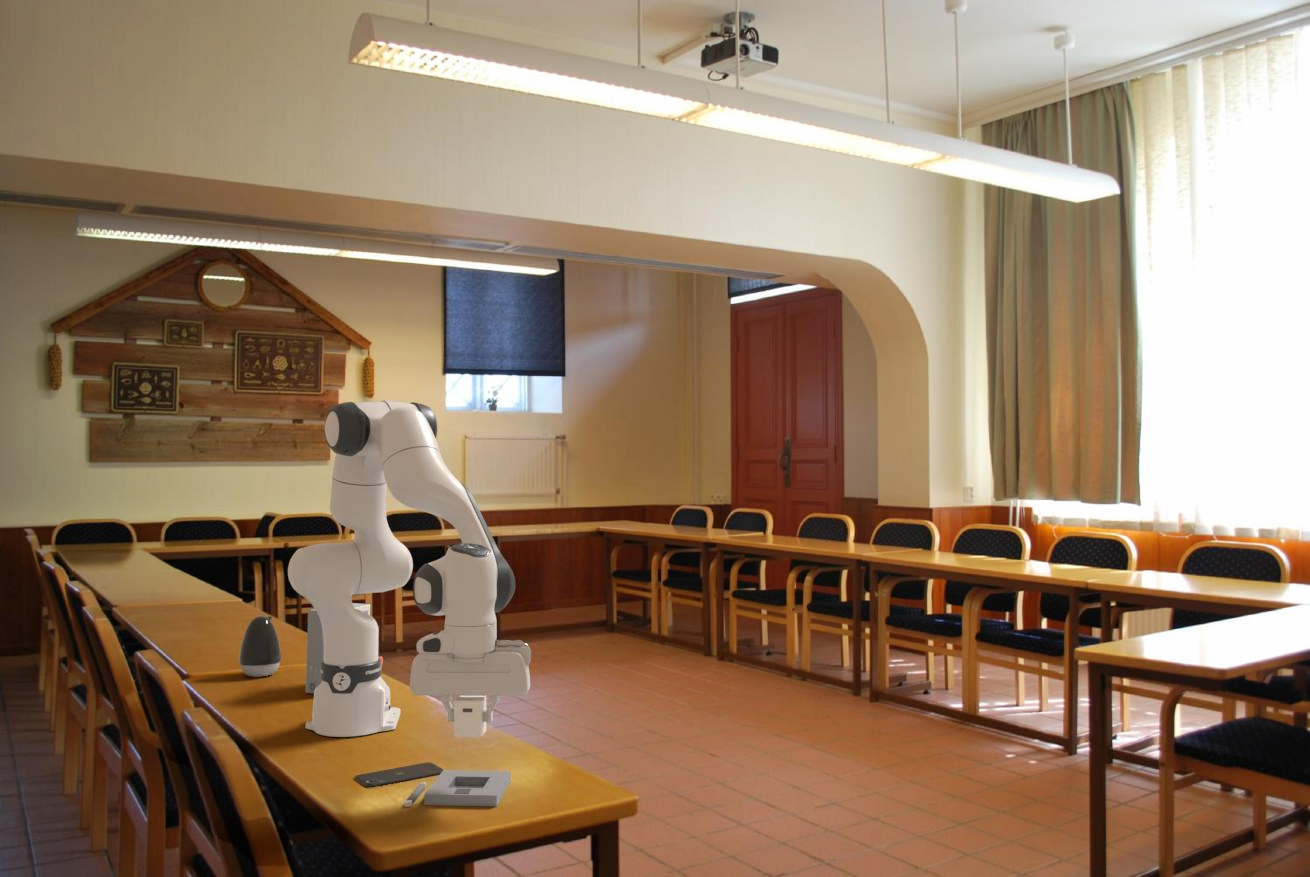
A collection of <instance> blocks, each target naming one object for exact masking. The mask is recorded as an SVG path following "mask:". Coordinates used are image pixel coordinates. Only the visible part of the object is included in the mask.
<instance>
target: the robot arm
mask: <svg viewBox="0 0 1310 877" xmlns="http://www.w3.org/2000/svg"><path fill="white" fill-rule="evenodd" d="M326 414H327V415H326V418H325V424H324V434H325V441H326V443H327V446H328V447H329V448H330V450H332V452H333V453H334V454H335V455H334V456H335V457H334V461H333V468H332V476H331V488H330V499H329V501H330V502H329V511H330V515H331V516H332V518H333V519H334V521H336V522H337V523H338V524H340V525H341V526H343V527H345V528H348V529H350V530H352V531H354V538H353V541H347V542H346V541H345V542H323V543H317V544H312V545H308V546H305V547H301V548H298V549H297V550H296V551H295V552H294V553H293V555H292V556H291V558H290V560H289V563H288V566H287V576H288V581H289V583H290V585H291V587H292V589H293V590H294V591H295V592H296V593H297V594H299V595H300V596H302V597H303V598H304V599H306V601H307V602H309V603H310V605H311V606H312V607H313V609H315V610H316V611H317V613H318V615H319V618H320V621H321V624H322V631H323V649H324V661H323V662H322V663H321V679H322V682H321V684H320V685H319V686H317V688H315V690H314V694H313V701H312V702H313V704H312V716H311V717H312V718H311V720H309V721H307V722H305V729H306V730H309V731H310V730H311V731H313V732H315V733H316V734H317V735H321V736H326V737H332V738H333V737H335V738H336V737H339V738H347V737H360V736H367V735H370V734H375V733H378V732H386V731H393V730H395V729H396V728H397V725H398V723H399V719H400V717H401V713H402V712H401V708H400V707H396V706H391V688H390V687H389V686H388V684H387V683H386V682H385V680H384V679H383V678H382V674H383V673H382V666H383V664H384V658H383V656H379V625H378V622H377V620H376V619H375V618H374V617H373V616H372V615H371V614H370V615H369V614H367V613H365V612H362V611H360V610H358V609H355V608H354V607H353V604H352V603H353V600H352V599H353V598H352V597H353V596H354V595H362V594H373V593H374V594H375V593H376V594H377V593H386V592H388V591H393V590H395V589H399V588H402V587H404V586H405V585H406V584H407V583H408V582H409V580H410V579H411V576H412V573H413V569H414V563H413V562H414V561H413V557H412V554H411V552H410V550H409V549H408V547H406V545H404V543H402V542H401V541H400V540H399V539H397V537H395V535H394V534H393V532H392V530H391V528H390V526H389V523H388V519H387V493H388V492H387V491H388V490H389V492H390V493H391V495H392V497H393V498H394V499H395V500H396V501H398V502H399V503H401V504H402V505H404V506H405V507H408V508H410V509H413V510H415V511H416V510H417V511H420V512H424V513H427V514H431V515H433V516H436V517H438V518H440V519H443V520H445V521H446V522H448V523H449V524H450V525H452V526H453V528H455V530H456V532H457V533H458V536H459V538H460V540H461V543H456V544H453V545H452V546H450V547H448V549H447V551H446V554H445V555H444V556H442V557H440V558H439V559H436V560H433V561H431V562H428V563H423V565H422V566H421V567H420V568H419V569H418V570H417V572H416V573H415V576H414V577H413V583H412V596H413V597H412V598H413V601H414V603H415V605H416V606H417V607H418V608H419V609H420V610H421V612H423V613H424V614H426V615H431V616H437V617H439V616H445V619H444V626H443V627H444V629H443V630H438V631H435V632H433V633H430V634H427V635H425V636H423V637H422V638H419V639H418V640H417V642H416V651H417V652H418V654H417V655H416V656H415V657H414V658H413V661H412V664H411V669H410V678H409V689H410V692H411V693H412V694H413V695H414V696H441V697H440V698H441V699H440V700H441V703H442V705H443V707H444V708H445V710H446V712H447V721H448V723H451V722H452V723H454V706H453V704H452V702H451V701H452V700H453V696H454V697H455V696H458V697H459V696H486V697H488V700H489V701H488V702H490V703H491V705H490V706H489V708H488V709H486V710H484V711H483V722H486V723H492V722H493V721H494V710H495V709H496V706H497V704H498V703H499V701H500V697H523V696H524V697H525V695H526V694H527V693H528V692H529V691H530V688H531V674H530V668H529V665H530V664H531V661H532V648H531V646H530V645H529V644H527V643H525V642H523V640H521V639H515V640H507V639H497V637H498V636H497V634H498V633H497V632H498V630H497V628H498V626H497V622H498V621H497V615H496V613H499V612H501V611H502V610H503V609H504V608H506V606H507V605H508V604H509V603H510V602H511V600H512V598H513V596H514V594H515V592H516V591H515V590H516V579H515V575H514V571H513V570H512V568H511V567H510V564H509V563H508V562H507V560H506V558H505V557H504V556H503V555H502V553H501V551H500V550H499V547H498V545H497V544H496V541H495V539H494V537H493V535H492V533H491V532H490V529H489V527H488V524H487V522H486V521H485V519H484V517H483V515H482V512H481V510H480V508H479V506H478V504H477V502H476V500H475V498H474V496H473V494H472V493H471V491H470V489H469V488H468V486H466V485H465V484H464V483H462V482H461V481H459V480H458V479H457V478H456V477H455V476H454V475H453V473H452V472H451V471H450V469H449V468H448V466H447V465H446V462H444V460H443V457H442V454H441V450H440V447H439V444H438V441H437V437H438V436H437V435H438V421H437V418H436V415H435V413H434V411H433V410H432V408H430V406H428V405H425V404H423V403H419V402H414V401H412V402H403V401H394V400H380V401H377V400H376V401H362V402H353V401H347V402H341V403H338V404H335V405H333V406H332V407H331V409H330V410H329V411H328V413H326Z"/></svg>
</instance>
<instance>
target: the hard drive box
mask: <svg viewBox="0 0 1310 877" xmlns="http://www.w3.org/2000/svg"><path fill="white" fill-rule="evenodd" d="M352 604H353V607H354V608H355V609H358V610H360V611H362V612H365V613H367V614H369V615H370V616H371V604H370V603H360V602H359V603H357V602H356V603H355V602H352ZM306 634H307V637H306V639H307V642H306V643H307V644H306V670H305V672H306V673H305V693H306V694H313V695H314V690H315V688H317V686H319V685H320V684H321V682H322V679H321V663H322V662H323V661H324V649H323V631H322V624H321V621H320V618H319V615H318V613H317V611H316V610H315V608H313V609H310V610H308V611H307V633H306Z"/></svg>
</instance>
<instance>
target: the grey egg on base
mask: <svg viewBox="0 0 1310 877" xmlns="http://www.w3.org/2000/svg"><path fill="white" fill-rule="evenodd" d="M272 618H273V617H272V616H271V615H269V616H264V615H259V616H256V617H254V618H252V619H251V621H250V622H249V623H248V625H247V628H246V630H245V632H244V634H243V638H242V641H241V645H240V649H239V657H238V663H239V664H240V669H241V671H242V672H243V673H244V674H245V675H246V676H248V677H250V676H252V677H251V678H262V677H261V676H266V677H269V676H268V675H270V676H271V675H274V673H275V672H276V671H277V670H278V668H279V666H280V664H281V661H282V650H281V646H280V644H281V643H280V640H279V636H278V632H277V630H276V628H275V625H274V623H273V622H272ZM253 676H254V677H253Z"/></svg>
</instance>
